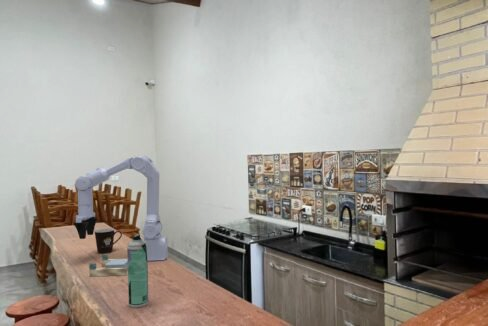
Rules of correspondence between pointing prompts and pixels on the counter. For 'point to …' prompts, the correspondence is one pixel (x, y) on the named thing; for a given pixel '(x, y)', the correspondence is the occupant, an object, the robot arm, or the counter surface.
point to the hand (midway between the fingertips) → (86, 236)
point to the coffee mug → (105, 240)
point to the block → (117, 263)
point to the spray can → (137, 272)
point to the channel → (106, 269)
